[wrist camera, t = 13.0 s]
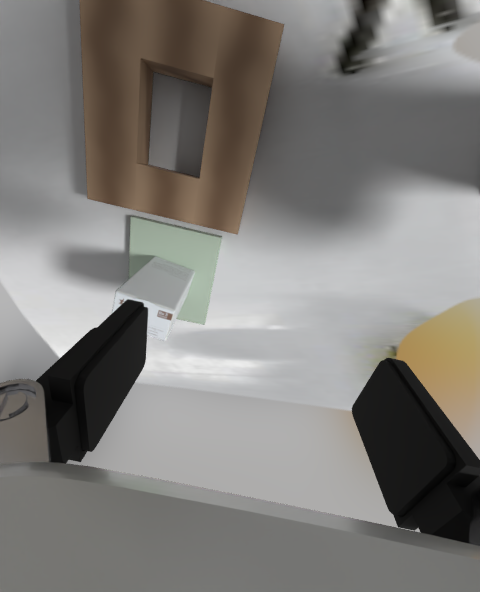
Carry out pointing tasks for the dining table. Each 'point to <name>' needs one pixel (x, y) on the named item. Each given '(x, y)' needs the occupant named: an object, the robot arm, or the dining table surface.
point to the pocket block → (138, 101)
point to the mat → (178, 258)
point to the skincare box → (157, 293)
